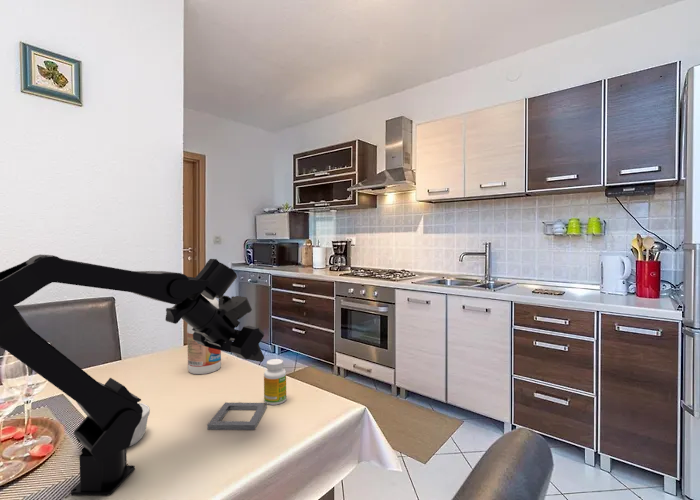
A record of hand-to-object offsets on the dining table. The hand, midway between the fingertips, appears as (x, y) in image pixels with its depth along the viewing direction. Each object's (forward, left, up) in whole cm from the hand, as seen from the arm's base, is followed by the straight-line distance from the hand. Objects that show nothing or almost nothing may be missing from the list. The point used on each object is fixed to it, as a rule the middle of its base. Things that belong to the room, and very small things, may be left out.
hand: (249, 355), depth 81 cm
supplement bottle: (+6, -4, -13) cm, 15 cm away
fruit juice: (+26, +22, -13) cm, 37 cm away
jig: (-3, +2, -13) cm, 14 cm away
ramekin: (-12, +23, -13) cm, 29 cm away
